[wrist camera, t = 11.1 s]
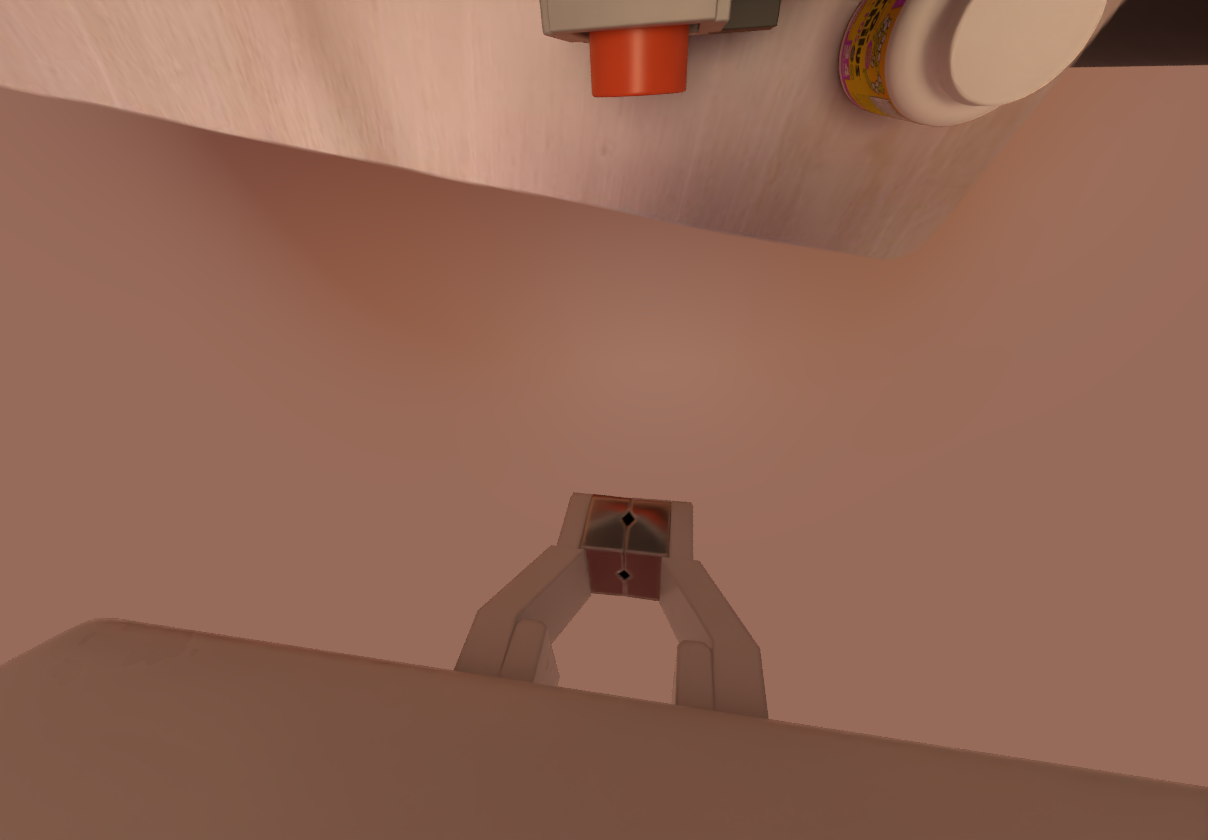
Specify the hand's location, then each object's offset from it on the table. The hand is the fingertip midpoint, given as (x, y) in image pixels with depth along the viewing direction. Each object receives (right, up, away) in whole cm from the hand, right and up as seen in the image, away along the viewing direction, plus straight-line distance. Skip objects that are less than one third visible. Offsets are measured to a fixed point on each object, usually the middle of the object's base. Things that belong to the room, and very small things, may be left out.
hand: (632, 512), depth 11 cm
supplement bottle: (+17, +25, +15) cm, 33 cm away
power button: (+1, +15, +4) cm, 16 cm away
